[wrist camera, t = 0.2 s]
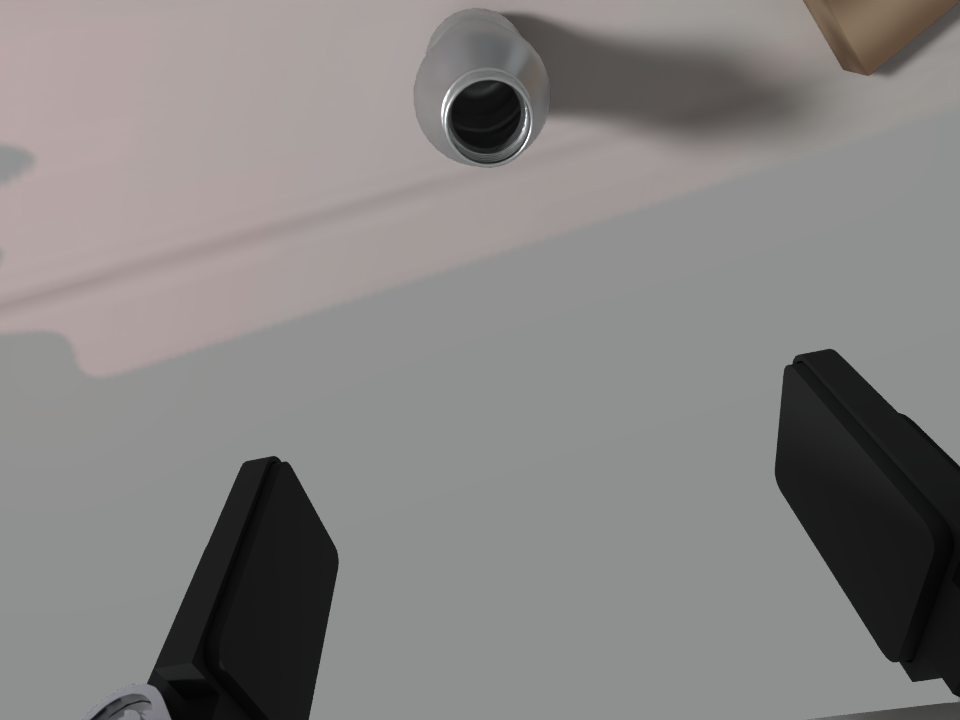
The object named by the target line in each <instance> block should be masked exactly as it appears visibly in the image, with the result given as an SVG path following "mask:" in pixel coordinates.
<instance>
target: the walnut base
mask: <svg viewBox="0 0 960 720" xmlns="http://www.w3.org/2000/svg"><path fill="white" fill-rule="evenodd" d="M803 1H804V3H805V4H806V6H807V8H808V9H809V11H810V13H811V15H812V16H813V18H814V20H815V22H816V23H817V25H818V27H819V29H820V30H821V32H822V34H823V35H824V37H825V39H826V41H827V42H828V44H829V46H830V48H831V49H832V51H833V53H834V55H835V56H836V58H837V60H838V61H839V63H840V65H841V67H842V68H843V70H846V71H850V72H854V73H858V74H862V75H866V76H869V75H870V74H871V73H873V72H874V71H875V70H876V69H877V68H879V67H880V66H881V65H882V64H884V63H885V62H886V61H887V60H888V59H890V58H891V57H892V56H893V55H894V54H896V53H897V52H898V51H899V50H901V49H902V48H903V47H904V46H905V45H907V44H908V43H909V42H910V41H911V40H913V39H914V38H915V37H916V36H918V35H919V34H920V33H921V32H922V31H924V30H925V29H926V28H927V27H929V26H930V25H931V24H932V23H933V22H935V21H936V20H937V19H938V18H939V17H941V16H942V15H943V14H944V13H946V12H947V11H948V10H949V9H950V8H952V7H953V6H954V5H955V4H956V3H958V2H959V1H960V0H803Z"/></svg>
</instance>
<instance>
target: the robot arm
mask: <svg viewBox="0 0 960 720" xmlns="http://www.w3.org/2000/svg"><path fill="white" fill-rule="evenodd" d="M775 477H776V481H777V484H778V487H779V489H780V491H781V492H782V494H783V496H784V497H785V499H786V500H787V502H788V503H789V505H790V507H791V508H792V510H793V511H794V513H795V515H796V516H797V518H798V519H799V521H800V523H801V524H802V526H803V527H804V529H805V531H806V532H807V534H808V535H809V537H810V538H811V540H812V542H813V543H814V545H815V546H816V548H817V549H818V551H819V553H820V554H821V556H822V557H823V559H824V561H825V562H826V564H827V565H828V567H829V569H830V570H831V572H832V573H833V575H834V577H835V578H836V580H837V581H838V583H839V585H840V586H841V588H842V589H843V591H844V592H845V594H846V595H847V597H848V599H849V600H850V602H851V603H852V605H853V607H854V608H855V610H856V611H857V613H858V615H859V616H860V618H861V619H862V621H863V623H864V624H865V626H866V627H867V629H868V631H869V632H870V634H871V635H872V637H873V639H874V640H875V642H876V643H877V645H878V646H879V648H880V650H881V651H882V653H883V654H884V655H885V657H886V658H887V659H889V660H890V661H892V662H900V664H901V665H902V666H903V668H904V670H905V671H906V673H907V674H908V676H909V677H910V679H911V680H912V682H916V681H924V680H931V679H938V678H943V680H944V681H945V683H946V684H947V686H948V687H949V688H950V690H951V692H952V693H953V694H954V695H956V696H958V702H955V703H943V704H934V705H925V706H917V707H908V708H900V709H891V710H882V711H874V712H866V713H857V714H849V715H839V716H831V717H824V718H817V719H809V720H960V467H959V465H958V464H957V463H956V462H955V461H953V459H952V458H951V457H949V456H948V455H947V454H946V453H945V452H944V451H943V450H942V449H941V448H940V447H939V446H938V445H937V444H936V443H935V442H934V441H933V440H932V439H931V438H930V437H929V436H928V435H927V434H926V433H925V432H924V431H923V430H922V429H921V428H920V427H919V426H918V425H917V424H916V423H915V422H914V421H912V420H911V419H910V418H908V417H907V416H906V415H903V414H900V413H898V412H897V411H896V410H895V409H894V408H893V407H892V406H891V405H890V404H889V403H888V402H887V401H886V400H885V399H884V398H883V397H882V396H881V395H880V394H879V393H878V392H877V391H876V390H875V389H874V388H873V387H872V386H871V385H870V384H869V383H868V382H867V381H866V380H865V379H864V378H863V377H862V376H861V375H859V373H858V372H857V371H855V369H854V368H853V367H852V366H851V365H850V364H849V363H848V362H847V361H846V360H844V358H842V357H841V356H840V355H839V354H838V353H837V352H836V351H835V350H832V349H826V350H821V351H816V352H811V353H806V354H801V355H797V356H795V358H794V360H793V364H792V365H787V366H786V367H785V369H784V376H783V386H782V397H781V409H780V419H779V430H778V441H777V452H776V462H775ZM338 564H339V562H338V553H337V550H336V547H335V545H334V544H333V542H332V540H331V538H330V536H329V534H328V533H327V531H326V529H325V527H324V526H323V524H322V522H321V520H320V518H319V517H318V514H317V513H316V511H315V509H314V507H313V506H312V503H311V502H310V500H309V498H308V496H307V494H306V493H305V491H304V489H303V487H302V485H301V483H300V482H299V480H298V478H297V476H296V474H295V472H294V471H293V469H292V467H291V465H290V464H289V463H288V462H281V461H280V459H279V458H277V457H275V456H271V457H266V458H261V459H256V460H251V461H246V462H245V463H243V465H242V467H241V468H240V471H239V473H238V475H237V478H236V480H235V482H234V484H233V487H232V489H231V492H230V494H229V496H228V499H227V501H226V503H225V506H224V508H223V510H222V512H221V515H220V517H219V519H218V522H217V524H216V526H215V529H214V531H213V533H212V536H211V538H210V540H209V543H208V545H207V547H206V549H205V550H204V553H203V555H202V557H201V560H200V562H199V564H198V567H197V569H196V571H195V574H194V576H193V579H192V581H191V583H190V585H189V587H188V590H187V592H186V594H185V597H184V599H183V602H182V604H181V606H180V608H179V611H178V613H177V615H176V618H175V620H174V622H173V625H172V627H171V629H170V632H169V634H168V636H167V639H166V641H165V643H164V645H163V648H162V650H161V652H160V655H159V657H158V659H157V662H156V664H155V666H154V669H153V671H152V673H151V676H150V678H149V680H148V683H147V684H146V683H143V684H132V685H129V686H126V687H124V688H121V689H118V690H116V691H115V692H113V693H112V694H110V695H108V696H107V697H105V698H104V699H102V700H101V701H100V702H99V703H98V704H97V705H96V706H95V707H93V708H92V709H91V710H90V711H89V712H88V713H87V714H86V715H85V717H84V718H83V719H82V720H309V715H310V710H311V705H312V700H313V694H314V689H315V684H316V679H317V674H318V669H319V664H320V659H321V653H322V648H323V643H324V638H325V632H326V628H327V623H328V617H329V612H330V607H331V602H332V597H333V592H334V586H335V581H336V576H337V571H338Z"/></svg>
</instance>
